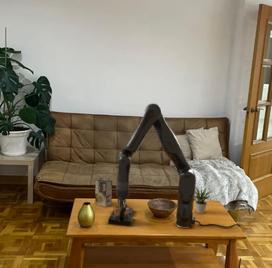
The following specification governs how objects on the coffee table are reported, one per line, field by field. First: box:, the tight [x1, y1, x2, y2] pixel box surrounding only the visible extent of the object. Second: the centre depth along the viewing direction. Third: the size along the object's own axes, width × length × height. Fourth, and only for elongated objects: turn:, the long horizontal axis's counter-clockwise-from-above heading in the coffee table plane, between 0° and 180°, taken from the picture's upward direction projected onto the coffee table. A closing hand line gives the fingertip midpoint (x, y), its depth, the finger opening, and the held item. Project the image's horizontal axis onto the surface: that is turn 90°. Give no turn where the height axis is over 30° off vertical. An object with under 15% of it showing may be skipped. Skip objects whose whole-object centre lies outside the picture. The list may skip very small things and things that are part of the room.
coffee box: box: [94, 177, 113, 208], centre depth 234 cm, size 9×6×16 cm
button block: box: [112, 205, 134, 215], centre depth 223 cm, size 11×9×4 cm
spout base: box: [107, 212, 135, 227], centre depth 210 cm, size 13×12×3 cm
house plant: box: [194, 186, 212, 214], centre depth 229 cm, size 14×14×16 cm
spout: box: [113, 207, 129, 218], centre depth 209 cm, size 8×2×5 cm, turn 107°
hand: (121, 216), depth 209 cm, fingers closed on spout, 2 cm apart
